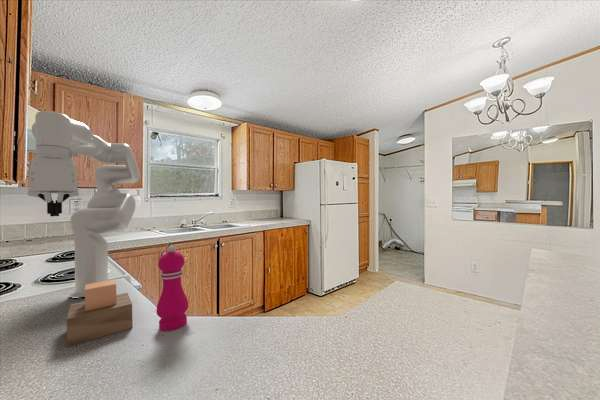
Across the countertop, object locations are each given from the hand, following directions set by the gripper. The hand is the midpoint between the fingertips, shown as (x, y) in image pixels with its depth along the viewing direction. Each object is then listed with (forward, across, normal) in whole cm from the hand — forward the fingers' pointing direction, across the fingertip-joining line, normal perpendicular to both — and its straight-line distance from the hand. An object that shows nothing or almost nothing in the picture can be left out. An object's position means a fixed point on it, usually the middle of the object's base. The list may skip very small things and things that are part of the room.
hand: (54, 216), depth 73 cm
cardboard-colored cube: (+23, -10, +20) cm, 32 cm away
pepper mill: (+29, -24, +32) cm, 50 cm away
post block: (+29, -10, +20) cm, 37 cm away
